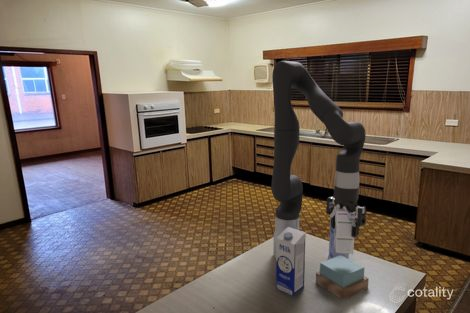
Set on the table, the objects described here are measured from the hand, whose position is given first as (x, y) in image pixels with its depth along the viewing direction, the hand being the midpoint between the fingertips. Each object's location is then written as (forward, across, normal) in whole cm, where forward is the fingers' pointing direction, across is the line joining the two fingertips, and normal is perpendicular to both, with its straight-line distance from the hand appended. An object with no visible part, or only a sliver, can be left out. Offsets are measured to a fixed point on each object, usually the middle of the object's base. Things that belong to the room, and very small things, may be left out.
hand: (344, 232), depth 109 cm
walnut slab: (+20, 0, 0) cm, 20 cm away
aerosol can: (+19, -13, +14) cm, 27 cm away
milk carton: (+19, -8, -16) cm, 26 cm away
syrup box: (+6, 0, 0) cm, 6 cm away
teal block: (+16, 0, 0) cm, 16 cm away
